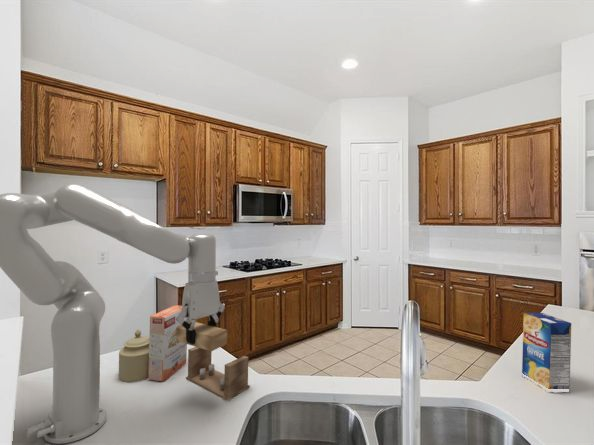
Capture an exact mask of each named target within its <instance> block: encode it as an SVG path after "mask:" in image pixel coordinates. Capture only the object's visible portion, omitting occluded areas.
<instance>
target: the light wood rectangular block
mask: <svg viewBox="0 0 594 445" xmlns="http://www.w3.org/2000/svg"><path fill="white" fill-rule="evenodd" d="M190 323H191V322H190ZM193 329H194V330H195V344H190V343H188V342H187V340H186V329H185V328H184V327H183V326H182V325H181V326H178V327H176V341H178V342H182V343H185V344H187V345H189V346H191V347H192V346H193V347H199V348H202V349H205V350H209V351H212V352H213V351H215V350H217V349H219V348H221V347H223V346H225V345H227V344H228V329H227V328H221V327H214V326H210V325H208V324H205V323H202V322H201V323H200V322H197V321H196V323H195V325H194V328H193Z"/></svg>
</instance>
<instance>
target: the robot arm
mask: <svg viewBox="0 0 594 445" xmlns="http://www.w3.org/2000/svg"><path fill="white" fill-rule="evenodd" d="M72 221H74V222H77V223H80V224H82V225H85V226H88V227H89V228H91V229H93V230H96V231H98V232H100V233H102V234H104V235H107V236H109V237H111V238H113V239H115V240H116V241H119V242H121V243H122V244H123V243H124V244H126V245H129V247H132V248H134V249H137V250H139V251H140V252H142V253H145V254H147V255H149V256H151V257H153V258H156V259H158V260H160V261H163V262H165V263H167V264H181V263H182V262H184V261H186V260H187V259H188V261H187V262H188V266H187V270H188V273H187V274H188V276H187V278H188V280H187V281H188V282H186V283H185V284H184V289H183V292H182V293H183V294H182V304H181V306H182V311H181V312H180V314H179V315H178V316H177V317H176V321H178V322H179V323H180V324H181V325H182V326H183V327H184V328H185V329H186V340H187V342H188V343H190V344H195V330H194V329H193V328H194V325H195V323H196V322H197V321H198V320H200V319H203V318H207V317H208V318H209V320H208V322H207V325H210V326H214V327H217V323H218V322H219V319H220V317H221V316H222V313H223V312H224V310H225V309H226V307H225V305H224V304H223V303H222V302H221V301H220V300H221V299H220V290H219V284H218V283H219V282H218V280H216V279H217V278H216V276H218V275H219V271H218V270H216V267H217V266H216V265H217V264H216V263H217V262H216V254H217V251H216V250H217V249H216V248H217V244H216V243H217V241H216V240H217V239H216V237H215V235H214V234H210V233H198V234H197V233H196V234H181V233H175V232H173V231H171V230H168V229H167V228H165V227H163V226H161V225H159V224H157V223H155V222H152V221H151V220H149V219H147V218H146V217H144V216H142V215H141V214H140V213H138V212H137V211H136V210H134V209H132V208H129V207H127V206H126V205H124V204H122V203H120V202H118V201H116V200H113V199H112V198H110V197H107V196H105V195H103V194H102V193H99V192H97V191H95V190H93V189H91V188H90V187H88V186H85V185H83V184H80V183H66V184H64V185H61V186H60V187H59V188H58V189H57V190H56V191H49V192H45V193H38V194H33V195H32V194H31V195H29V194H23V193H18V192H17V193H16V192H10V193H9V192H8V193H7V192H6V193H1V194H0V269H1V270H2V271H3V272H4V274H5V275H6V276H7V277H8V278H9V279H10V280H11V281H12V282H13V284H14V285H15V286H16V287H17V288H18V290H20V291H21V293H23V295H24V296H25V297H26V298H27V299H28V300H29V301H30V302H32V303H33V304H36V305H39V306H50V305H54V307H56V309H58V310H57V311H56V313H55V314H54V316H53V318H52V322H51V325H50V337H51V346H52V412H50V413H48V415H47V419H44V420H43V421H42V422H41V423H39V424H35V425H32V426H29V427H28V428H26V430H25V434H26V437H27V438H30V437H33V436H36V438H37V439H39V438H42V437H43V438H44V440H45V441H46V442H47V443H50V444H53V445H54V444H55V445H56V444H57V445H60V444H61V445H62V444H67V443H73V442H77V441H80V440H82V439H84V438H87V437H88V436H91V435H92V434H93V433H96V432H97V431H98V430H99V429H100V428H102V426H104V424H105V423H106V421H107V412H106V410H105V409H103V408H100V391H101V390H100V389H101V388H100V385H101V384H100V383H101V382H100V381H101V380H100V379H101V378H100V376H101V373H100V372H101V369H100V368H101V360H100V359H101V344H100V343H101V341H100V340H101V339H100V326H101V322H102V319H103V317H104V315H105V312H106V302H105V300H104V298H103V296H102V295H101V294H100V293H99V292H98V290H96V289H95V287H94V286H93V285H92V284H91V283H90V281H89V280H88V279H87V278H86V277H85V275H83V273H82V272H81V271H80V270H79V269H78V268H77V267H76V266H74V265H73V264H71V263H69V262H67V261H62V260H61V261H60V260H54V259H53V258H52V257H51V255H49V253H48V252H47V251H46V250H45V248H43V246H42V245H41V244H40V243H39V242H38V241H37V240H36V239H35V238H33V236H31V235H30V233H29V231H28V230H32V229H39V228H43V227H48V226H52V225H57V224H62V223H67V222H72ZM184 317H187V320H186V321H185V320H184ZM190 322H191V323H190Z"/></svg>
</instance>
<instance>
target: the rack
mask: <svg viewBox="0 0 594 445" xmlns="http://www.w3.org/2000/svg"><path fill="white" fill-rule="evenodd" d="M187 350H188V351H187V352H188V353H187V355H188V357H187V376H186V377H185V379H186V380H187V381H189V382H191V383H192V384H195V385H196V386H199V387H200V388H202V389H204V390H206V391H208V392H210V393H212V394H213V395H216V396H218V397H220V398H222V399H223V400H225V401H230V400H231V399H232V398H235V397H237V396H238V395H239V394H241V393H243V392H244V391H247V390H248V389H250V385H249V356H246V355H243V356H241V357H239V358H237V359H234V360H232V361H230V362H228V363H226V364H224V372H221V371H219V370H216V369H215V364H214V363H212V352H213V351H209V350H205V349H202V348H199V347H195V346H193V347H191V348H187Z"/></svg>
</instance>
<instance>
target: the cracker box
mask: <svg viewBox="0 0 594 445" xmlns="http://www.w3.org/2000/svg"><path fill="white" fill-rule="evenodd" d="M181 311H182V305H177V304H176V305H172V306H170V307H168V308H166V309H163V310H160V311H159V312H157V313H155V314H152V315H150V316H149V336H148V338H149V368H148V378H147V379H148V380H149V381H157V382H161V383H162V382H165V380H167V379H168V378H169V377H170V376H172V375H173V374H174V373H176V372H177V371H178V370H179V369H181V368H182V367H183V366H185V365H186V364H187V358H188V357H187V355H188V353H187V352H188V351H187V350H188V348H187V347H188V344H185V343H182V342H178V341H176V327H178V326H181V324H180V323H179V322H178V321H176V317H177V316H178V315H179V314H180V312H181ZM184 320H185V321H186V320H187V317H184Z"/></svg>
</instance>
